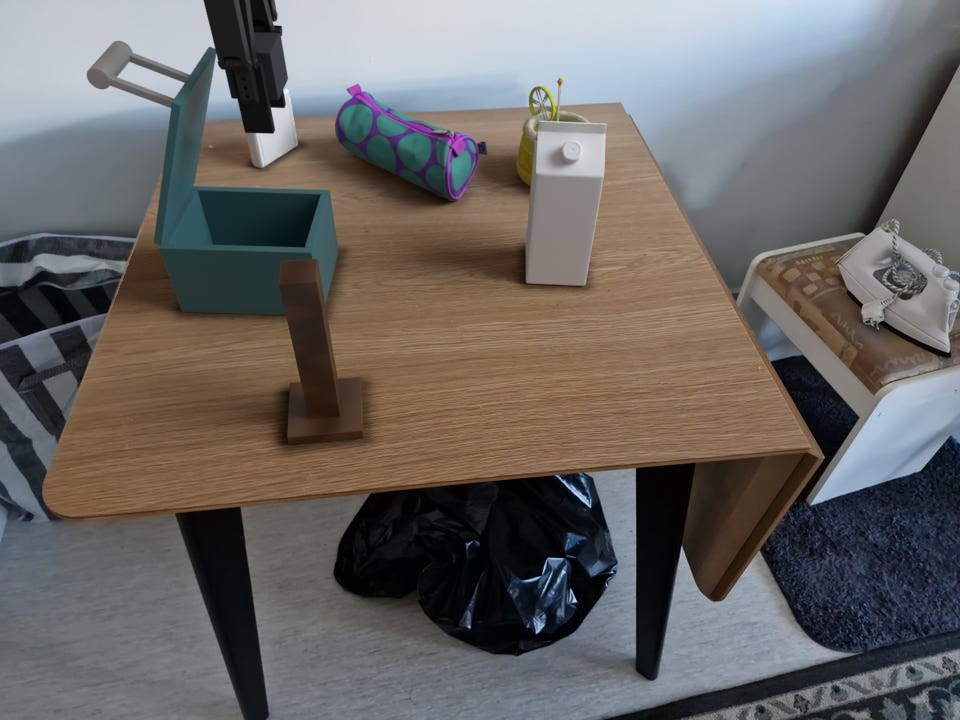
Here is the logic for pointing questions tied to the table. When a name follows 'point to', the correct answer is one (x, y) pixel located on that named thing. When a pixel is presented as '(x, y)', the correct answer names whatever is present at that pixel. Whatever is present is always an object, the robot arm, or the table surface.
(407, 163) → the pencil case
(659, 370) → the table surface
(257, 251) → the chest
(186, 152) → the lid
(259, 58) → the block
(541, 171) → the milk carton
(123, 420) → the table surface
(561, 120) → the yellow pot
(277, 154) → the perfume bottle
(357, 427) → the post stand
